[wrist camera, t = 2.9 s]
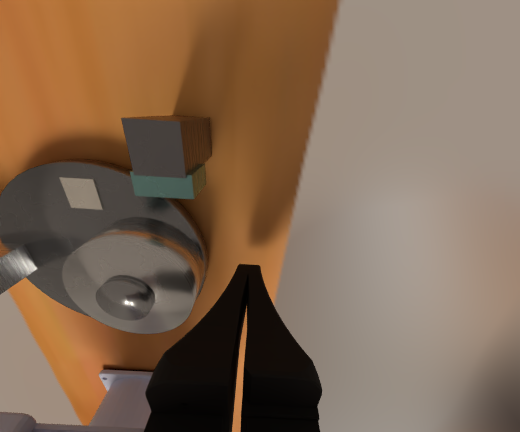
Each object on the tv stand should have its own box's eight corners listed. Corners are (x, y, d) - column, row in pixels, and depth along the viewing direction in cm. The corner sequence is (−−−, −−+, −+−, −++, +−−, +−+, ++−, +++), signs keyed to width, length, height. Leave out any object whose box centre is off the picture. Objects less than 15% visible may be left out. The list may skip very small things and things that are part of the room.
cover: (207, 302, 15) (195, 346, 13) (113, 297, 15) (79, 340, 12) (200, 220, 12) (181, 253, 9) (82, 213, 12) (26, 244, 9)
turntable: (212, 318, 18) (200, 366, 14) (40, 309, 17) (-12, 355, 14) (201, 166, 12) (176, 188, 8) (-59, 150, 12) (-189, 166, 8)
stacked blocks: (215, 171, 12) (193, 200, 8) (175, 169, 12) (134, 196, 8) (213, 118, 11) (185, 122, 7) (168, 115, 11) (115, 117, 7)
